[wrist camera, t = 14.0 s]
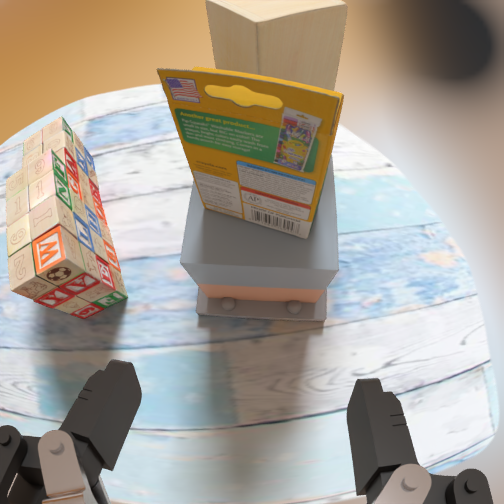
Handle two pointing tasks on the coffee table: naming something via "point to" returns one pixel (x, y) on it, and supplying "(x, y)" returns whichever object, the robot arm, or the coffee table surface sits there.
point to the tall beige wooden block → (279, 38)
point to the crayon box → (255, 143)
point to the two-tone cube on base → (261, 263)
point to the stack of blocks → (60, 227)
